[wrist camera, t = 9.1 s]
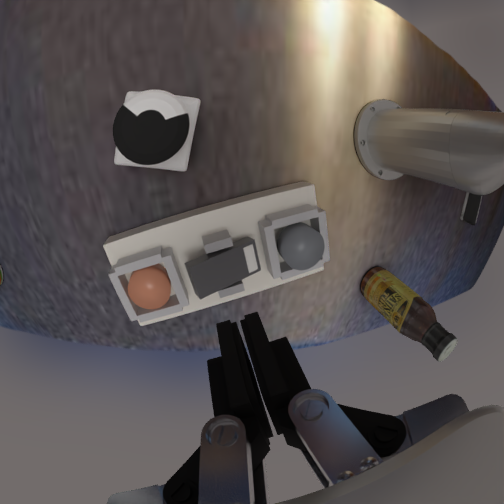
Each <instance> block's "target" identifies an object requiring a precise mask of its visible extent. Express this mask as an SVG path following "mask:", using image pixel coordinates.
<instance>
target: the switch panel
mask: <svg viewBox="0 0 504 504" xmlns="http://www.w3.org/2000/svg"><path fill="white" fill-rule="evenodd" d="M298 222H302V223H305V224H307V225H309V226H310V227H312V228H313V229H315V230H316V231H318V232H319V233H320V234H321V235H322V237H323V239H324V243H325V248H324V253H323V255H322V257H321V259H320V260H319V262H318V263H317V264H316V265H314V266H313V267H311V268H309V269H307V270H295V269H293V268H291V267H290V266H289V265H288V264H287V263H286V262H285V261H284V259H283V258H282V257H281V256H280V255H279V253H278V250H277V239H278V236H279V234H280V233H281V231H282V230H283V229H284V228H285V227H286V226H288V225H291V224H295V223H298ZM247 236H248V237H250V238H252V239H255V244H256V248H257V253H258V258H259V262H260V267H261V271H259V272H257V273H255V274H253V275H250V276H248V277H246V278H244V279H242V280H240V281H238V282H236V283H234V284H232V285H230V286H228V287H226V288H224V289H221V290H219V291H217V292H215V293H213V294H211V295H209V296H207V297H205V298H203V299H199V298H198V296H197V295H196V294H195V292H194V289H193V286H192V283H191V281H190V278H189V275H188V272H187V269H186V267H185V264H184V263H186V262H188V261H190V260H193V259H195V258H197V257H200V256H202V255H204V254H207V253H211V252H214V251H217V250H221V249H224V248H228V247H231V246H233V243H232V242H235V241H237V240H240V239H242V238H244V237H247ZM103 247H104V249H105V251H106V254H107V256H108V259H109V261H110V263H111V266H112V268H111V270H110V272H109V274H108V275H109V277H110V279H111V282H112V284H113V286H114V288H115V290H116V292H117V294H118V296H119V298H120V300H121V302H122V304H123V306H124V308H125V310H126V312H127V314H128V316H129V318H130V320H131V321H134V320H138V322H139V324H140V326H143V325H147V324H151V323H154V322H158V321H162V320H165V319H169V318H173V317H176V316H180V315H183V314H187V313H190V312H194V311H197V310H201V309H204V308H207V307H211V306H214V305H217V304H221V303H224V302H227V301H231V300H234V299H237V298H240V297H243V296H247V295H250V294H253V293H256V292H259V291H262V290H265V289H269V288H272V287H275V286H278V285H281V284H284V283H287V282H290V281H293V280H296V279H299V278H302V277H305V276H307V275H310V274H313V273H316V272H319V271H322V270H324V267H323V263H324V262H327V261H330V254H329V242H328V231H327V222H326V212H325V210H323V209H321V208H319V207H317V201H316V194H315V187H314V184H311V183H308V182H305V181H302V182H297V183H293V184H289V185H285V186H280V187H276V188H272V189H268V190H264V191H260V192H256V193H252V194H248V195H244V196H241V197H237V198H233V199H229V200H226V201H222V202H218V203H215V204H211V205H208V206H204V207H201V208H197V209H194V210H190V211H187V212H184V213H180V214H177V215H174V216H171V217H167V218H164V219H161V220H158V221H155V222H152V223H148V224H145V225H142V226H139V227H136V228H133V229H130V230H127V231H124V232H121V233H119V234H116V235H113V236H110V237H108V239H107V240H106V242H105V243H104V245H103ZM158 263H159V264H161V265H162V266H164V267H165V268H166V270H167V273H168V276H169V278H170V281H171V293H170V298H169V300H168V301H167V302H166V304H164V305H163V306H162V307H160V308H157V309H145V308H142V307H139V306H138V305H136V304H135V303H134V302H133V301H132V300H131V298H130V296H129V294H128V283H129V280H130V277H131V274H132V271H136V270H139V269H142V268H145V267H149V266H152V265H155V264H158Z"/></svg>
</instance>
